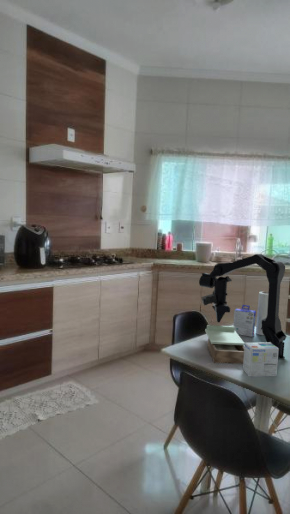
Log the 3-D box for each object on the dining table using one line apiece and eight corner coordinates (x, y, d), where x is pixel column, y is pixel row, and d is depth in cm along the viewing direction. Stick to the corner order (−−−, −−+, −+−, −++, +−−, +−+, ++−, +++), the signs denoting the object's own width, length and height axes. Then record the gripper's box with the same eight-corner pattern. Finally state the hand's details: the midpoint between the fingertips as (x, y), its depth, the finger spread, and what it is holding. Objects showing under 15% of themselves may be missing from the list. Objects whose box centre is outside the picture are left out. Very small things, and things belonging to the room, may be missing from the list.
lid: (234, 332, 157) (235, 326, 157) (244, 345, 141) (245, 338, 140) (205, 330, 157) (205, 324, 157) (211, 343, 141) (211, 337, 141)
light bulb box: (268, 368, 132) (270, 341, 131) (277, 376, 125) (279, 348, 124) (241, 369, 130) (243, 341, 129) (249, 377, 124) (251, 348, 122)
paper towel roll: (253, 332, 175) (256, 291, 173) (262, 331, 178) (265, 291, 175) (263, 337, 169) (267, 294, 166) (272, 336, 171) (276, 293, 169)
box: (237, 349, 151) (238, 338, 150) (247, 364, 135) (248, 352, 134) (207, 347, 151) (208, 336, 150) (214, 362, 135) (215, 350, 134)
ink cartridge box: (254, 334, 173) (256, 306, 171) (252, 337, 168) (255, 308, 166) (234, 330, 177) (236, 303, 175) (232, 333, 172) (234, 305, 170)
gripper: (200, 285, 170) (198, 316, 172) (206, 293, 152) (204, 327, 154) (222, 286, 170) (220, 317, 172) (231, 294, 152) (229, 328, 153)
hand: (218, 322), depth 163 cm, fingers closed
